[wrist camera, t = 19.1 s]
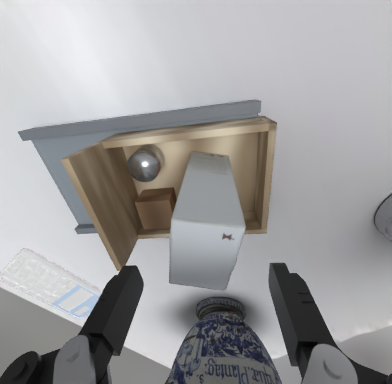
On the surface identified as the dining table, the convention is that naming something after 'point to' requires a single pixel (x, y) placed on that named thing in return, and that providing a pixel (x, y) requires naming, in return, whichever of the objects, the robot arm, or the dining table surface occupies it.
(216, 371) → the decorative vase
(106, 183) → the wooden drawer
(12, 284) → the white flat textured slab
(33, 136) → the rail board
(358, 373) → the robot arm
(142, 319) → the dining table surface
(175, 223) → the skincare box
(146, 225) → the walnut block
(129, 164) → the grey ball
